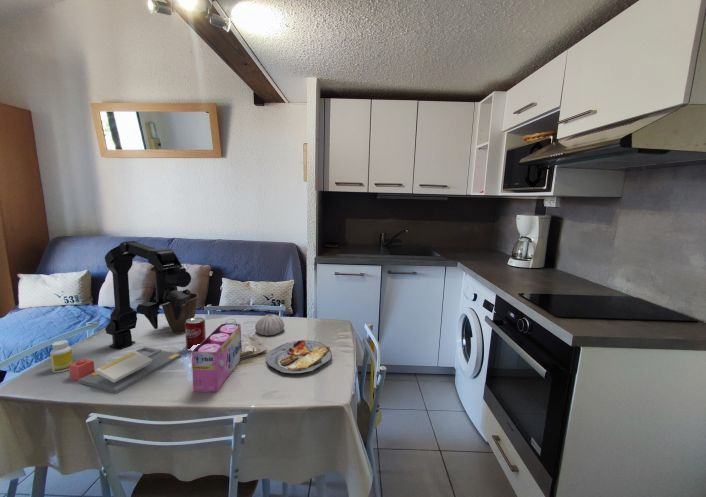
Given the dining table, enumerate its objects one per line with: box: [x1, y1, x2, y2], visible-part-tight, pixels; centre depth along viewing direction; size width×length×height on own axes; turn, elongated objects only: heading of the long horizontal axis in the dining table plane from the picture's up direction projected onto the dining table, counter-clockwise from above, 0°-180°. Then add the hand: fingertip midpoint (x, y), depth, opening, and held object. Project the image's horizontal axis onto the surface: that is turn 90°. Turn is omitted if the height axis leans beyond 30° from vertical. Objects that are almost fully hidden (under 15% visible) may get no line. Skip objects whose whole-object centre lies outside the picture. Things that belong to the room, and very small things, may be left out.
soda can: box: [184, 316, 207, 350], centre depth 123 cm, size 7×7×12 cm
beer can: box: [224, 318, 238, 326], centre depth 123 cm, size 5×5×12 cm
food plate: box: [265, 339, 333, 374], centre depth 117 cm, size 25×23×4 cm
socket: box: [124, 345, 162, 358], centre depth 114 cm, size 8×8×1 cm
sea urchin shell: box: [255, 314, 285, 336], centre depth 142 cm, size 13×14×8 cm
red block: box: [68, 358, 96, 382], centre depth 102 cm, size 4×4×6 cm
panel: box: [78, 349, 182, 394], centre depth 107 cm, size 17×24×3 cm
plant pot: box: [161, 292, 199, 334], centre depth 140 cm, size 15×15×16 cm
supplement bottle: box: [49, 339, 74, 374], centre depth 105 cm, size 5×5×10 cm
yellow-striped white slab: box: [95, 350, 153, 382], centre depth 101 cm, size 8×13×1 cm, turn 164°
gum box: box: [191, 323, 243, 393], centre depth 106 cm, size 24×8×14 cm, turn 1°
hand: (166, 324), depth 113 cm, fingers open, 9 cm apart
